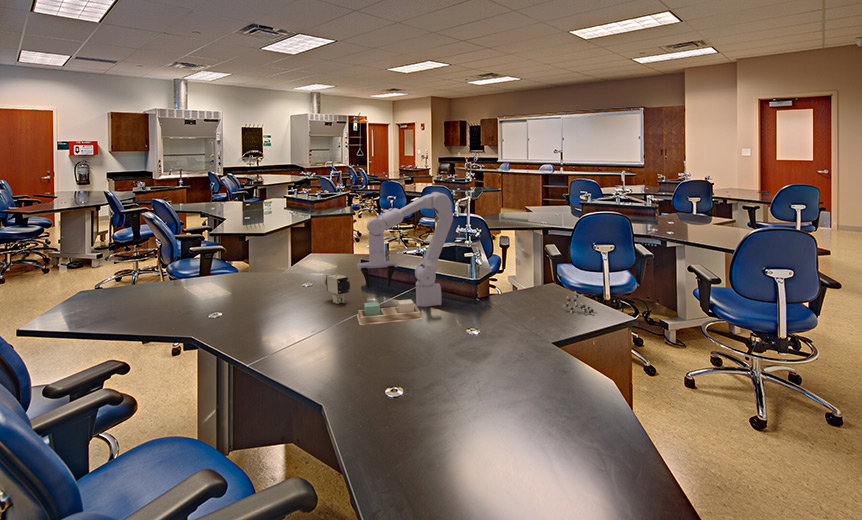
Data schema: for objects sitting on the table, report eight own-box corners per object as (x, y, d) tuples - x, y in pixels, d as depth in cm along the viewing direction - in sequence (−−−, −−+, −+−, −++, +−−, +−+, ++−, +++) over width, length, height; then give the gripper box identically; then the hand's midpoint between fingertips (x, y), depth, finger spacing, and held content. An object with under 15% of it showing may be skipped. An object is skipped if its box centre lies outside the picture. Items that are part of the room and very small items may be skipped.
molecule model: (593, 323, 177) (602, 302, 177) (561, 308, 180) (570, 288, 180) (592, 322, 183) (600, 302, 183) (560, 309, 186) (569, 289, 186)
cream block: (411, 312, 182) (411, 299, 181) (414, 316, 177) (413, 303, 176) (397, 313, 181) (397, 300, 180) (400, 317, 176) (399, 304, 175)
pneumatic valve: (341, 306, 195) (339, 277, 193) (325, 301, 204) (324, 272, 201) (353, 304, 199) (351, 274, 196) (337, 298, 207) (336, 270, 205)
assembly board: (416, 312, 186) (416, 304, 185) (423, 322, 175) (423, 313, 174) (356, 317, 181) (356, 309, 181) (360, 328, 170) (359, 319, 169)
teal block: (378, 315, 180) (378, 301, 179) (380, 319, 175) (379, 305, 174) (364, 316, 178) (364, 303, 177) (366, 320, 174) (365, 307, 173)
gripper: (394, 247, 190) (395, 282, 192) (356, 250, 187) (357, 285, 189) (397, 251, 183) (398, 287, 186) (357, 253, 180) (359, 290, 183)
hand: (378, 286), depth 187 cm, fingers open, 7 cm apart
